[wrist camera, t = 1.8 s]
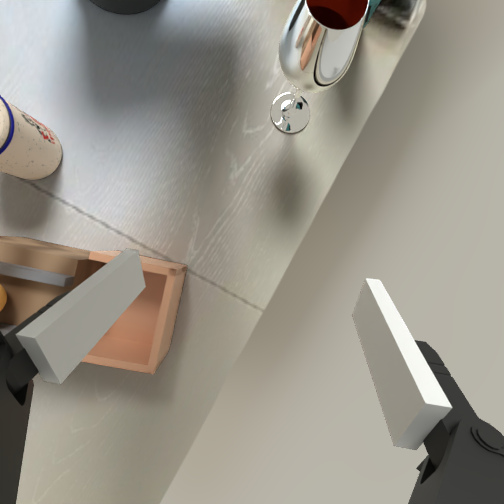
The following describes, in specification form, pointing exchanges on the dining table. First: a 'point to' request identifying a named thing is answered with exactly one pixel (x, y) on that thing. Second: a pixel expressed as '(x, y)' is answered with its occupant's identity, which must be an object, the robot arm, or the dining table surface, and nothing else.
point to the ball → (2, 297)
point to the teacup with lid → (26, 145)
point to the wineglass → (315, 53)
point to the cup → (142, 318)
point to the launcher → (38, 275)
